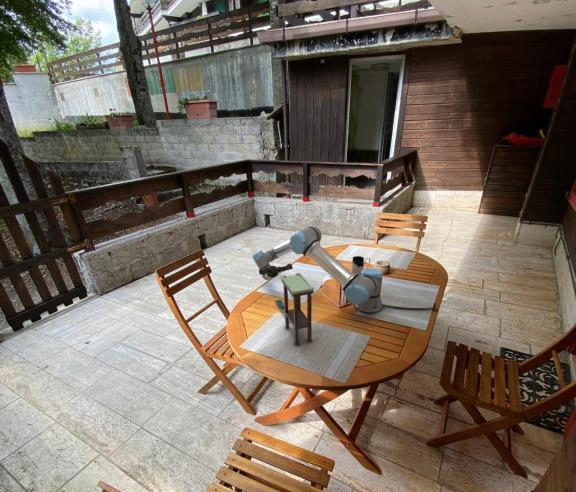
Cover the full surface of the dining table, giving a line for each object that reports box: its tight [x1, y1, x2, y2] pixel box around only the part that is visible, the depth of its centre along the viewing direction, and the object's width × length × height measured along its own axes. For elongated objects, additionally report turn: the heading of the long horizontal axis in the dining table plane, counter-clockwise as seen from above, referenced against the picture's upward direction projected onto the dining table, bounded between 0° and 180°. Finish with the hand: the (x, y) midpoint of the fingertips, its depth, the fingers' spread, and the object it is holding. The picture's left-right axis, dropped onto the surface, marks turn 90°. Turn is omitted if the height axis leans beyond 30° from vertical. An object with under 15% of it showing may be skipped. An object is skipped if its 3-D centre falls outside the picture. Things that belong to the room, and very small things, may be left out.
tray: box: [280, 272, 314, 294], centre depth 148 cm, size 18×10×1 cm, turn 18°
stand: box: [280, 278, 315, 346], centre depth 156 cm, size 18×10×30 cm, turn 18°
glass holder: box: [350, 255, 371, 277], centre depth 214 cm, size 9×14×15 cm, turn 113°
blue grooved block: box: [275, 299, 291, 323], centre depth 183 cm, size 24×3×1 cm, turn 18°
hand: (278, 267), depth 176 cm, fingers open, 13 cm apart
